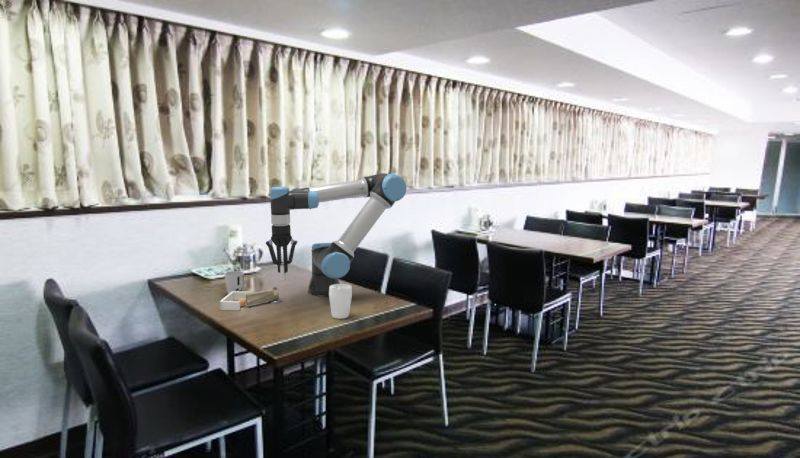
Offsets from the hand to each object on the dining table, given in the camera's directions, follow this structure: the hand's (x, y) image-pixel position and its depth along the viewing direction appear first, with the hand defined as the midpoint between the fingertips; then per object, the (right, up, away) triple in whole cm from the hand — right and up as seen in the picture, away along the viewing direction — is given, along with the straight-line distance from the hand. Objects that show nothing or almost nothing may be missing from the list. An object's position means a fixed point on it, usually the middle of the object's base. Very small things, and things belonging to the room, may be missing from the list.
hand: (283, 280), depth 193 cm
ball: (-17, -9, -3) cm, 19 cm away
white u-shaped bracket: (-20, -10, 0) cm, 22 cm away
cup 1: (-25, -8, +14) cm, 30 cm away
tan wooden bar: (-9, -9, +2) cm, 13 cm away
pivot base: (-5, -10, +6) cm, 13 cm away
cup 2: (+25, -13, -11) cm, 31 cm away
